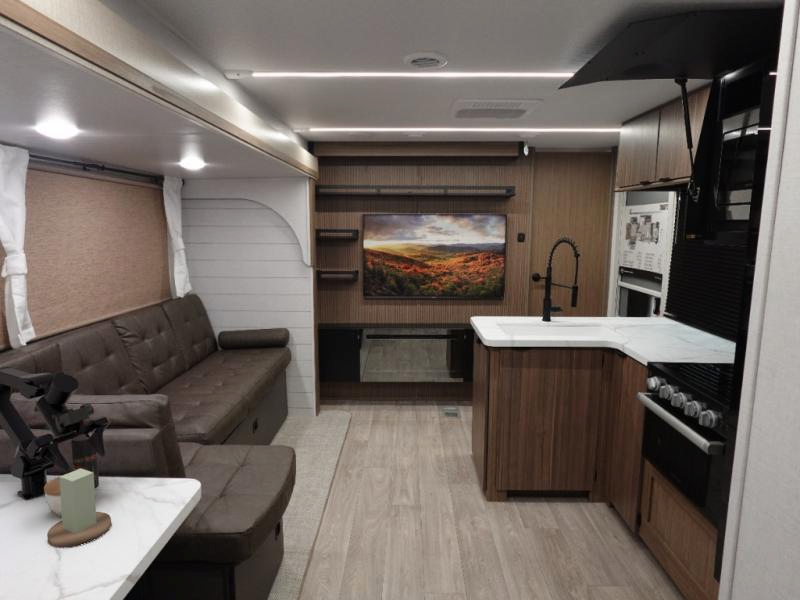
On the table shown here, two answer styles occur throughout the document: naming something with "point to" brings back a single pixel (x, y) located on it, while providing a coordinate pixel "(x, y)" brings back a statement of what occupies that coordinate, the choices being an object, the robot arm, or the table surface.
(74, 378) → the robot arm
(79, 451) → the deodorant
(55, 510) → the lidded jar
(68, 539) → the disc
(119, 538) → the table surface
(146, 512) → the table surface
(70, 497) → the post
